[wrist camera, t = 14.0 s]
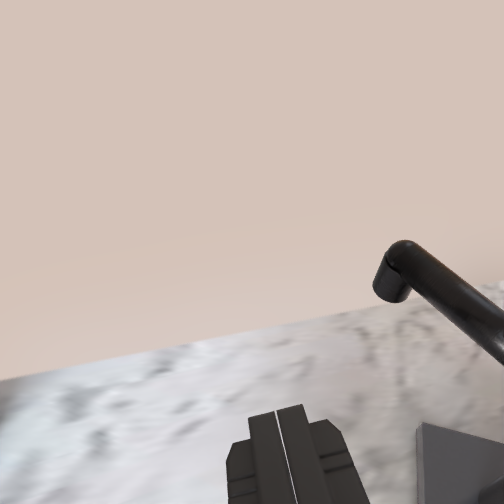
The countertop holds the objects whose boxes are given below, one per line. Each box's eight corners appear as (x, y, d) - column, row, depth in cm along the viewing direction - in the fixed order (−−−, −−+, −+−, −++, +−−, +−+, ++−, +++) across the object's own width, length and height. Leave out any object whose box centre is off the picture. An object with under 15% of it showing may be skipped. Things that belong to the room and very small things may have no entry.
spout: (357, 288, 31) (380, 231, 26) (395, 266, 32) (421, 209, 28) (613, 527, 21) (710, 496, 17) (646, 478, 23) (742, 438, 19)
